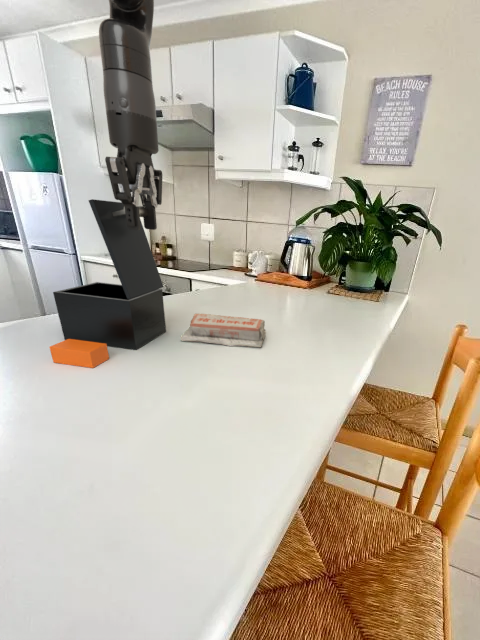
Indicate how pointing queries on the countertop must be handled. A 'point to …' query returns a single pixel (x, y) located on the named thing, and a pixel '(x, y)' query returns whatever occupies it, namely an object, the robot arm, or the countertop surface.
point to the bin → (110, 315)
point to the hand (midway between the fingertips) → (142, 229)
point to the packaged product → (225, 330)
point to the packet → (79, 353)
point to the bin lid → (127, 248)
